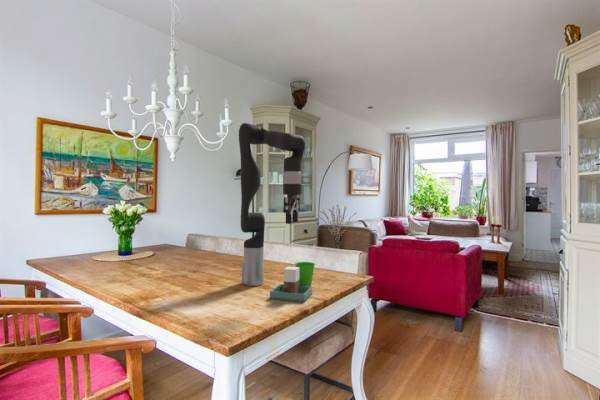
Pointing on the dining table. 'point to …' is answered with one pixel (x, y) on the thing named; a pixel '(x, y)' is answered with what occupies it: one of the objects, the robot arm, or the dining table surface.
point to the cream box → (291, 274)
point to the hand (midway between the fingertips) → (291, 222)
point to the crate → (291, 294)
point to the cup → (305, 273)
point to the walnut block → (291, 287)
